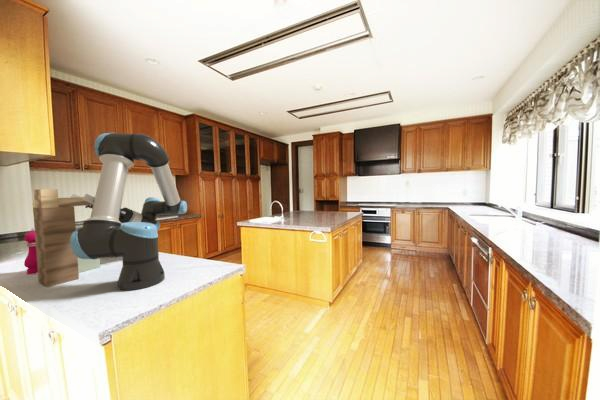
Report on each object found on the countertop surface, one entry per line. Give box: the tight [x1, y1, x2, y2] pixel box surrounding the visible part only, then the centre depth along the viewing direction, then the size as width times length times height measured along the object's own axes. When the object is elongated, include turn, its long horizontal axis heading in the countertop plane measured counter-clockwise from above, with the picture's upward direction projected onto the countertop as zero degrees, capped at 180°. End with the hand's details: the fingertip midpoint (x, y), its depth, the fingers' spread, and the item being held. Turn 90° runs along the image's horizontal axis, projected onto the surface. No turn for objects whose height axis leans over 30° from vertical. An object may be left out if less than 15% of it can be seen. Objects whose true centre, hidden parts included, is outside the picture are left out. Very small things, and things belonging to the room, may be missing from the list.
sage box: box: [75, 225, 101, 274], centre depth 105 cm, size 7×12×20 cm, turn 153°
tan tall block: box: [33, 188, 93, 208], centre depth 96 cm, size 7×18×7 cm, turn 153°
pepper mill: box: [23, 227, 38, 275], centre depth 104 cm, size 7×7×20 cm
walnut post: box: [32, 206, 80, 288], centre depth 92 cm, size 9×9×30 cm
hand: (77, 196), depth 98 cm, fingers open, 11 cm apart
